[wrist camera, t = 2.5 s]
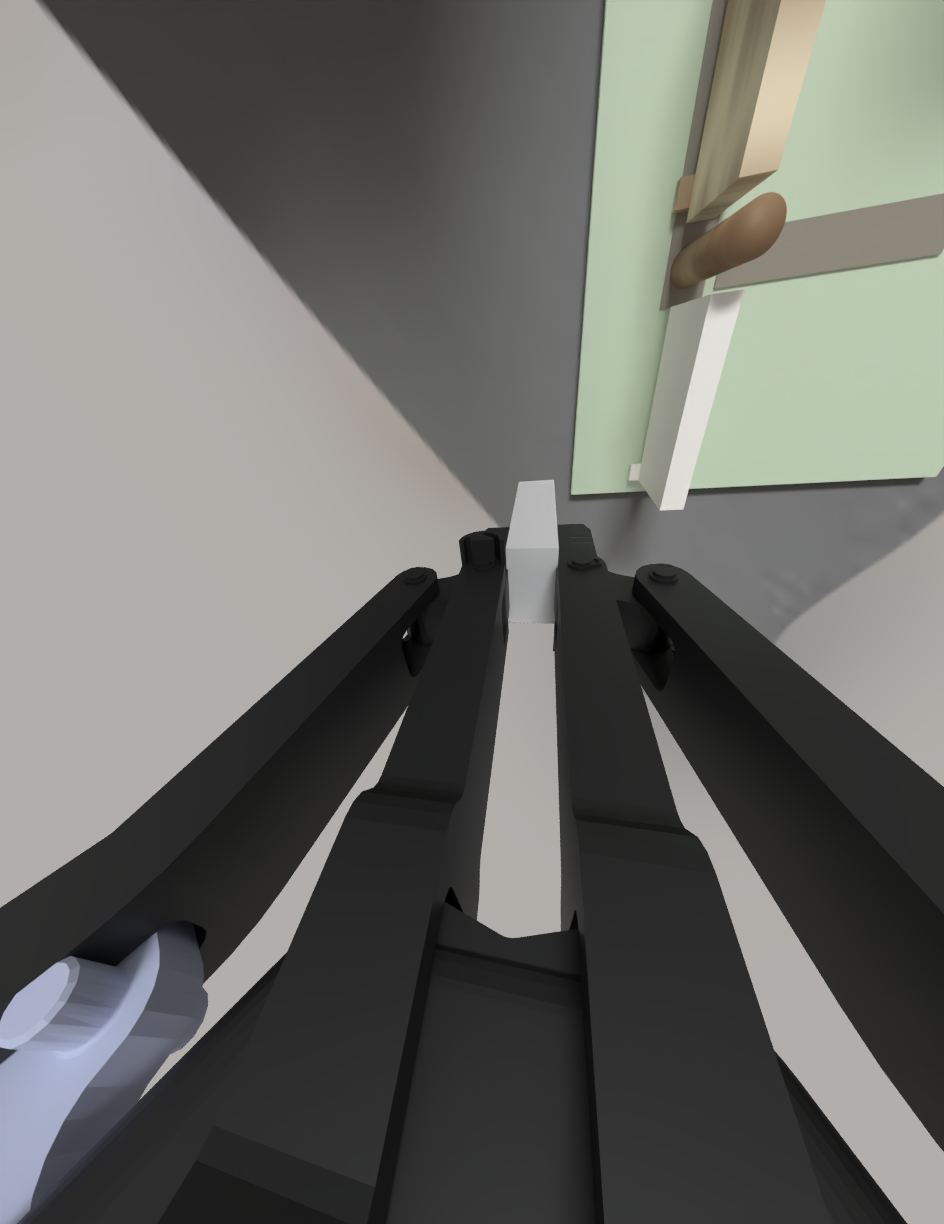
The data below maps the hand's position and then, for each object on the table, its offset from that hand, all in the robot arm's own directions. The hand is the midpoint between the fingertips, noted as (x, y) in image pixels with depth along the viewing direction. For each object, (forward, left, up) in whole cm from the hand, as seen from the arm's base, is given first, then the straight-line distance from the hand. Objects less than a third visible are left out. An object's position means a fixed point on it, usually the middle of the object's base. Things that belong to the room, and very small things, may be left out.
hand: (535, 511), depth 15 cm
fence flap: (-2, +7, -11) cm, 13 cm away
